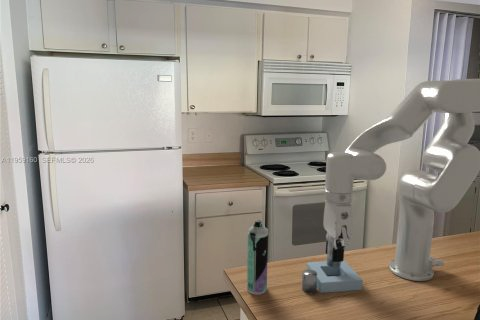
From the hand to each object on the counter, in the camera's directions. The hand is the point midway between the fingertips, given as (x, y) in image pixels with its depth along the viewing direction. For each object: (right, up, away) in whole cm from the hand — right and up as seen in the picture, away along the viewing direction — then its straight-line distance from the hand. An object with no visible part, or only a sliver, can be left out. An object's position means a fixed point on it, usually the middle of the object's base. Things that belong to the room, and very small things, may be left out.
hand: (334, 256), depth 106 cm
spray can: (-23, -8, -4) cm, 24 cm away
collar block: (0, -7, +1) cm, 7 cm away
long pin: (0, -2, 0) cm, 2 cm away
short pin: (-8, -8, -4) cm, 12 cm away
